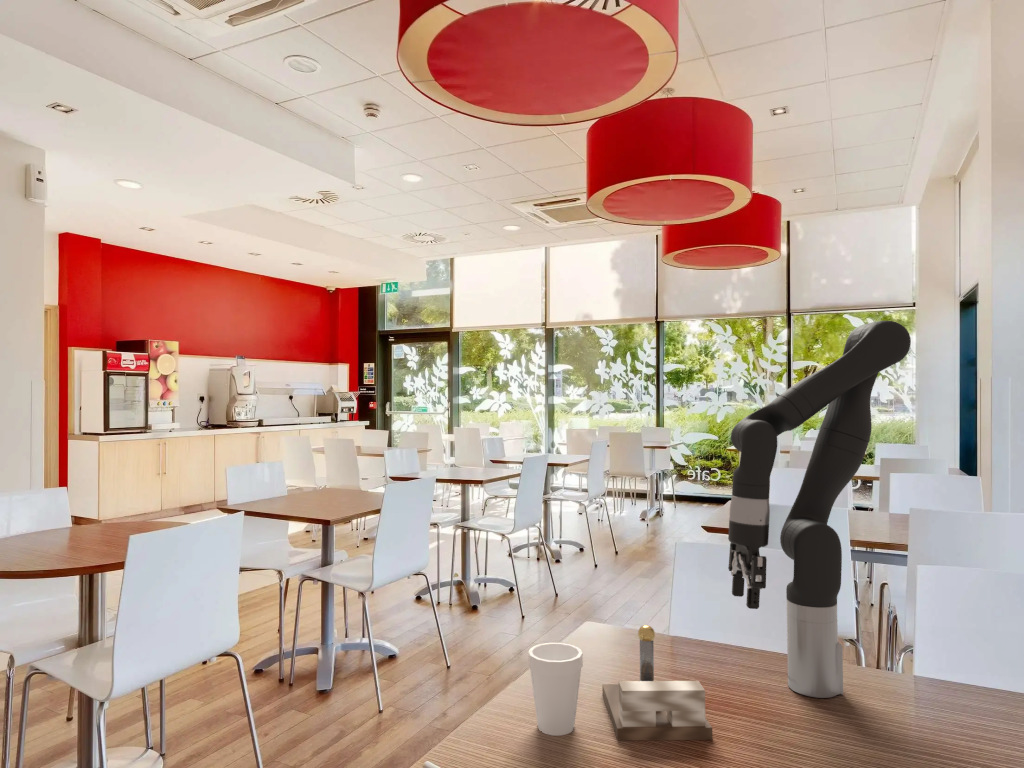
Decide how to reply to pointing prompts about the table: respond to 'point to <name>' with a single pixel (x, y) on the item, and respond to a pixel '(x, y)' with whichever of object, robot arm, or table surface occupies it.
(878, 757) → the table surface
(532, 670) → the foam cup
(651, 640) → the gold knob lever
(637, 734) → the board
